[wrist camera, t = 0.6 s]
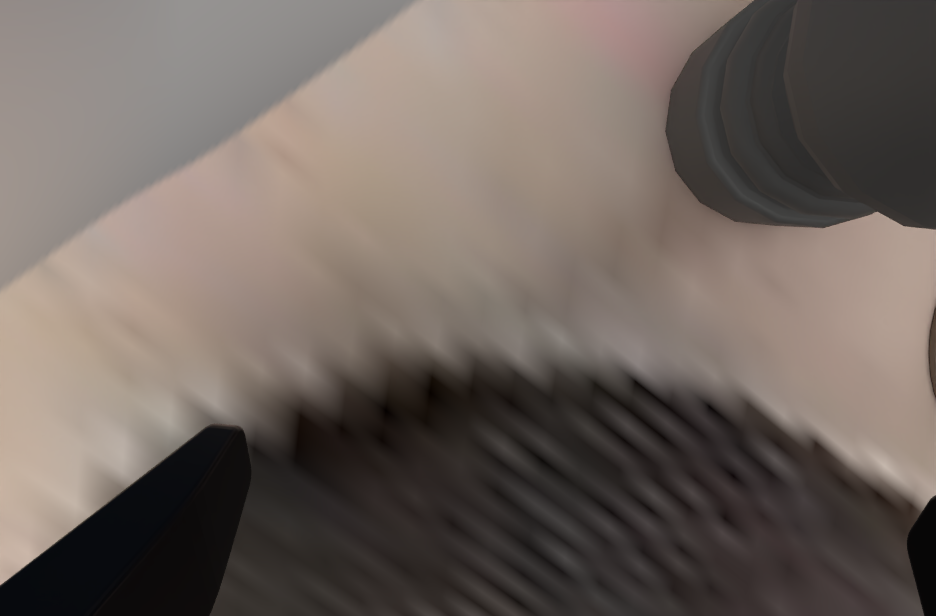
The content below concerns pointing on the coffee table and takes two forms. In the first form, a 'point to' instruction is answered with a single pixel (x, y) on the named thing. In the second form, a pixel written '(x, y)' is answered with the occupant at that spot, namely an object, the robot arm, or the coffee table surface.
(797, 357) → the coffee table surface
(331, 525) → the coffee table surface
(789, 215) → the candle holder
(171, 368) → the coffee table surface
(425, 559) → the coffee table surface
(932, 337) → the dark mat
